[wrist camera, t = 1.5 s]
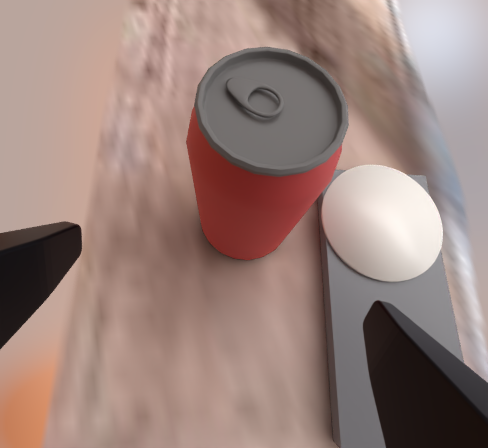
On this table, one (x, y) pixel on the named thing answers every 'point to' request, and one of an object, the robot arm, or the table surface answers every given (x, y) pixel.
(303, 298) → the table surface
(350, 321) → the charging dock
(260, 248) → the beer can
